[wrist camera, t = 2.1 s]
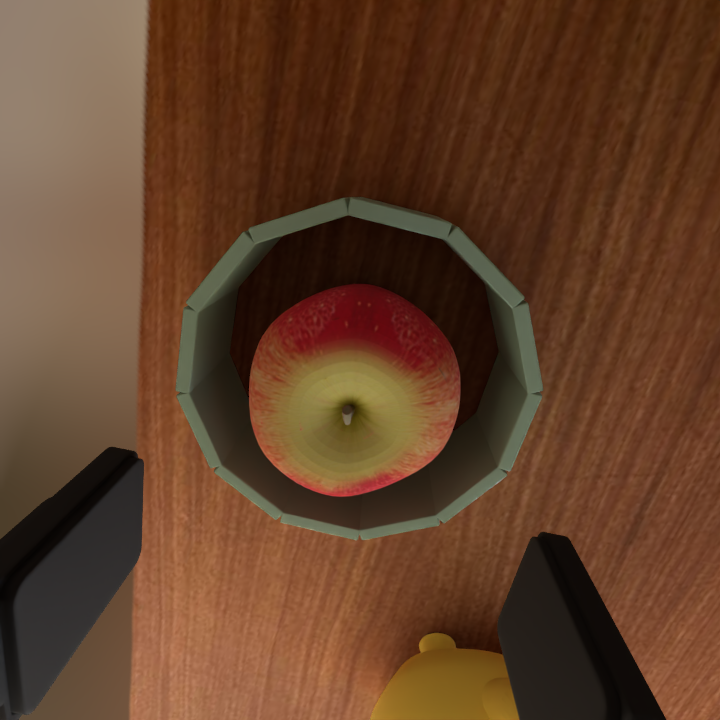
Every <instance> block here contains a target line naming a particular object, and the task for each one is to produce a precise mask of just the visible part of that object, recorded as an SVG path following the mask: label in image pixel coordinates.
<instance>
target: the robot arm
mask: <svg viewBox="0 0 720 720" xmlns="http://www.w3.org/2000/svg"><path fill="white" fill-rule="evenodd" d="M143 477H144V462H143V460H142V459H139V458H138V455H137V453H136V452H135V451H131V450H126V449H120V448H116V447H109V448H107V449H106V450H105V451H104V452H102V453H101V454H100V455H99V456H98V457H97V458H96V459H95V460H93V461H92V462H91V463H90V464H89V465H88V466H87V467H85V468H84V469H83V470H82V471H81V472H80V473H79V474H78V475H76V476H75V477H74V478H73V479H72V480H71V481H70V482H69V483H67V484H66V485H65V486H64V487H63V488H62V489H61V490H59V491H58V492H57V493H56V494H55V495H54V496H53V497H51V498H48V499H47V500H45V501H44V502H43V503H41V504H40V505H39V506H38V507H37V508H36V509H34V510H33V511H32V512H31V513H30V514H29V515H28V516H26V517H25V518H24V519H23V520H22V521H21V522H20V523H19V524H17V525H16V526H15V527H14V528H13V529H12V530H11V531H9V532H8V533H7V534H6V535H5V536H4V537H3V538H1V539H0V720H19V718H20V717H21V715H22V714H24V715H29V714H30V713H31V712H33V711H34V710H35V708H36V707H37V706H38V704H39V703H40V702H41V700H42V699H43V697H44V696H45V694H46V693H47V691H48V690H49V689H50V687H51V686H52V684H53V683H54V681H55V680H56V678H57V677H58V675H59V674H60V673H61V671H62V670H63V668H64V667H65V665H66V664H67V663H68V661H69V660H70V658H71V657H72V655H73V654H74V652H75V651H76V649H77V648H78V647H79V645H80V644H81V642H82V641H83V639H84V638H85V637H86V635H87V634H88V632H89V631H90V629H91V628H92V626H93V625H94V624H95V622H96V620H97V619H98V618H99V616H100V615H101V613H102V612H103V611H104V609H105V607H106V606H107V605H108V603H109V602H110V600H111V599H112V598H113V596H114V595H115V593H116V592H117V590H118V589H119V587H120V586H121V585H122V583H123V582H124V580H125V579H126V577H127V576H128V574H129V573H130V572H131V570H132V569H133V567H134V566H135V564H136V563H137V561H138V558H139V556H140V552H141V546H142V512H143ZM497 630H498V637H499V641H500V645H501V649H502V653H503V657H504V661H505V665H506V669H507V672H508V676H509V680H510V684H511V688H512V692H513V696H514V700H515V704H516V708H517V712H518V716H519V720H666V718H665V716H664V714H663V712H662V711H661V709H660V707H659V705H658V703H657V701H656V699H655V697H654V696H653V694H652V692H651V690H650V688H649V686H648V684H647V683H646V681H645V679H644V677H643V675H642V673H641V671H640V670H639V668H638V666H637V664H636V662H635V660H634V658H633V656H632V655H631V653H630V651H629V649H628V647H627V645H626V643H625V642H624V640H623V638H622V636H621V634H620V632H619V630H618V629H617V627H616V625H615V623H614V621H613V619H612V617H611V615H610V614H609V612H608V610H607V608H606V606H605V604H604V602H603V601H602V599H601V597H600V595H599V593H598V591H597V589H596V587H595V586H594V584H593V582H592V580H591V578H590V576H589V574H588V573H587V571H586V569H585V567H584V565H583V563H582V561H581V560H580V558H579V556H578V554H577V552H576V550H575V548H574V546H573V545H572V543H571V541H570V540H569V538H568V537H566V536H561V535H556V534H551V533H546V532H541V533H540V534H539V535H538V537H532V538H531V539H530V541H529V544H528V546H527V548H526V551H525V553H524V556H523V558H522V561H521V563H520V566H519V568H518V571H517V573H516V576H515V578H514V581H513V583H512V586H511V588H510V591H509V593H508V596H507V598H506V601H505V603H504V606H503V608H502V611H501V613H500V616H499V619H498V625H497Z"/></svg>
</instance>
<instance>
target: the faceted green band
mask: <svg viewBox="0 0 720 720" xmlns="http://www.w3.org/2000/svg"><path fill="white" fill-rule="evenodd" d="M348 215H349V216H353V217H357V218H361V219H365V220H369V221H373V222H377V223H381V224H385V225H389V226H392V227H396V228H400V229H404V230H408V231H412V232H416V233H420V234H424V235H428V236H432V237H436V238H440V239H442V240H443V241H444V242H445V243H446V244H447V245H448V246H449V247H450V248H451V249H452V250H453V251H454V252H455V253H456V254H457V255H458V256H459V257H460V258H461V259H462V260H463V261H464V262H465V263H466V264H467V266H468V267H469V268H470V269H471V270H472V271H473V272H474V273H475V274H476V275H477V276H478V277H479V278H480V279H481V280H482V281H483V282H484V283H485V288H486V293H487V297H488V302H489V307H490V312H491V317H492V322H493V327H494V332H495V336H496V341H497V346H498V351H499V352H498V355H497V357H496V360H495V363H494V366H493V368H492V371H491V374H490V376H489V379H488V382H487V384H486V387H485V390H484V392H483V395H482V398H481V400H480V403H479V406H478V409H477V411H476V413H475V414H474V415H473V416H471V417H470V418H469V419H468V420H467V421H465V422H464V423H463V424H462V425H461V426H459V427H458V428H457V429H456V430H455V431H453V432H452V433H451V436H450V438H449V440H448V442H447V443H446V445H445V447H444V448H443V449H442V451H441V452H440V453H439V454H438V455H437V456H436V457H435V458H434V459H433V460H432V461H431V462H430V463H428V464H427V465H426V466H424V467H423V468H421V469H420V470H418V471H417V472H415V473H413V474H411V475H409V476H408V477H405V478H403V479H401V480H399V481H397V482H395V483H393V484H390V485H388V486H385V487H383V488H380V489H377V490H374V491H371V492H367V493H363V494H359V495H354V496H344V497H338V496H330V495H324V494H321V493H318V492H315V491H312V490H310V489H308V488H305V487H303V486H302V485H300V484H298V483H296V482H295V481H293V480H292V479H290V478H288V477H287V476H286V475H285V474H283V473H282V472H281V471H280V470H279V469H277V468H276V467H275V466H274V465H273V464H272V463H271V462H270V460H269V459H268V458H267V457H266V456H265V454H264V453H263V451H262V450H261V448H260V446H259V444H258V442H257V439H256V437H255V434H254V431H253V427H252V423H251V417H250V408H249V398H248V396H247V394H246V391H245V389H244V386H243V384H242V382H241V379H240V377H239V374H238V372H237V370H236V367H235V365H234V362H233V360H232V357H231V355H230V346H231V339H232V332H233V325H234V318H235V311H236V304H237V297H238V290H239V287H240V285H241V284H242V283H243V282H244V281H245V280H246V278H247V277H248V276H249V275H250V274H251V273H252V271H253V270H254V269H255V268H256V267H257V265H258V264H259V263H260V262H261V261H262V260H263V258H264V257H265V256H266V255H267V254H268V253H269V251H270V250H271V249H272V248H273V247H274V245H275V244H276V243H277V242H278V241H279V240H280V238H281V237H282V236H284V235H287V234H290V233H293V232H297V231H300V230H303V229H306V228H309V227H313V226H316V225H319V224H322V223H325V222H329V221H332V220H335V219H338V218H341V217H345V216H348ZM524 298H525V297H524V296H523V294H522V293H521V292H520V291H519V290H518V289H517V288H516V287H515V286H514V285H513V284H512V283H511V282H510V281H509V280H508V279H507V278H506V277H505V276H504V274H503V273H502V272H501V271H500V270H499V269H498V268H497V267H496V266H495V265H494V264H493V263H492V262H491V261H490V260H489V259H488V258H487V257H486V255H485V254H484V253H483V252H482V251H481V250H480V249H479V248H478V247H477V246H476V245H475V244H474V243H473V242H472V241H471V240H470V239H469V238H468V237H467V235H466V234H465V233H464V232H463V231H462V230H461V229H460V228H459V227H457V226H455V225H453V224H452V223H450V222H448V221H446V220H444V219H442V218H440V217H438V216H435V215H431V214H427V213H423V212H419V211H415V210H411V209H407V208H403V207H400V206H396V205H392V204H388V203H384V202H380V201H376V200H372V199H368V198H364V197H347V198H341V199H338V200H334V201H331V202H328V203H325V204H322V205H319V206H316V207H312V208H309V209H306V210H303V211H300V212H297V213H294V214H290V215H287V216H284V217H281V218H278V219H275V220H272V221H269V222H265V223H262V224H259V225H256V226H253V227H250V228H249V230H248V231H245V232H242V234H241V235H240V236H239V237H238V238H237V240H236V241H235V242H234V243H233V245H232V246H231V247H230V248H229V250H228V251H227V252H226V253H225V254H224V256H223V257H222V258H221V259H220V261H219V262H218V263H217V264H216V266H215V267H214V268H213V269H212V270H211V272H210V273H209V274H208V275H207V277H206V278H205V279H204V280H203V281H202V283H201V284H200V285H199V286H198V288H197V289H196V290H195V291H194V293H193V294H192V295H191V296H190V297H189V299H188V300H187V301H186V303H187V304H188V306H186V307H184V310H183V320H182V330H181V340H180V350H179V360H178V371H177V381H176V391H179V392H180V393H179V394H178V395H177V399H178V401H179V403H180V405H181V407H182V409H183V411H184V413H185V415H186V418H187V420H188V422H189V424H190V426H191V428H192V430H193V432H194V435H195V437H196V439H197V441H198V443H199V445H200V447H201V449H202V452H203V454H204V456H205V458H206V460H207V462H208V464H209V466H210V468H213V467H216V469H215V470H214V472H215V473H216V474H217V475H218V476H220V477H221V478H222V479H223V480H225V481H226V482H227V483H229V484H230V485H231V486H233V487H234V488H235V489H236V490H238V491H239V492H240V493H242V494H243V495H244V496H245V497H247V498H248V499H249V500H251V501H252V502H253V503H255V504H256V505H257V506H258V507H260V508H261V509H262V510H264V511H265V512H266V513H267V514H269V515H270V516H271V517H273V518H274V519H275V520H276V519H278V518H279V517H280V516H281V515H282V516H281V521H280V522H281V523H285V524H289V525H294V526H298V527H302V528H306V529H311V530H315V531H319V532H324V533H328V534H332V535H336V536H341V537H345V538H349V539H354V540H358V537H359V534H360V536H361V539H362V540H366V539H372V538H377V537H382V536H387V535H392V534H397V533H402V532H407V531H413V530H418V529H423V528H428V527H433V526H438V525H439V520H441V521H442V522H443V523H445V522H447V521H448V520H449V519H451V518H452V517H453V516H454V515H456V514H457V513H458V512H460V511H461V510H462V509H464V508H465V507H466V506H468V505H469V504H470V503H472V502H473V501H474V500H476V499H477V498H478V497H480V496H481V495H482V494H484V493H485V492H486V491H487V490H489V489H490V488H491V487H493V486H494V485H495V484H497V483H498V482H499V481H501V480H502V479H503V478H505V477H506V476H507V473H506V471H505V470H507V471H511V469H512V466H513V464H514V462H515V459H516V457H517V454H518V452H519V450H520V447H521V445H522V443H523V440H524V438H525V436H526V433H527V431H528V429H529V426H530V424H531V422H532V419H533V417H534V414H535V412H536V410H537V407H538V405H539V403H540V400H541V398H542V395H541V393H540V392H539V391H543V385H542V379H541V374H540V368H539V362H538V357H537V351H536V345H535V340H534V334H533V328H532V323H531V317H530V311H529V306H528V303H527V302H526V301H524V300H523V299H524Z"/></svg>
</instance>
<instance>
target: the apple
mask: <svg viewBox="0 0 720 720" xmlns="http://www.w3.org/2000/svg"><path fill="white" fill-rule="evenodd" d="M459 404H460V372H459V366H458V362H457V359H456V356H455V353H454V351H453V348H452V346H451V344H450V343H449V341H448V340H447V338H446V337H445V335H444V334H443V333H442V332H441V330H440V329H439V328H438V326H437V325H436V324H435V323H434V322H433V321H432V320H431V319H430V318H429V317H428V316H427V315H426V314H425V313H423V312H422V311H421V310H420V309H419V308H417V307H416V306H415V305H413V304H412V303H410V302H409V301H407V300H406V299H404V298H403V297H401V296H399V295H397V294H396V293H394V292H391V291H389V290H387V289H384V288H381V287H379V286H375V285H370V284H348V285H342V286H337V287H334V288H330V289H327V290H324V291H322V292H319V293H316V294H314V295H312V296H310V297H308V298H306V299H304V300H302V301H300V302H299V303H297V304H295V305H294V306H292V307H291V308H289V309H288V310H286V311H285V312H284V313H282V314H281V315H280V316H279V317H278V318H277V319H276V320H275V321H274V322H273V323H272V324H271V325H270V326H269V328H268V329H267V330H266V332H265V333H264V334H263V336H262V338H261V340H260V342H259V344H258V347H257V349H256V352H255V355H254V358H253V362H252V367H251V373H250V382H249V408H250V417H251V423H252V427H253V431H254V434H255V437H256V439H257V442H258V444H259V446H260V448H261V450H262V451H263V453H264V454H265V456H266V457H267V458H268V459H269V460H270V462H271V463H272V464H273V465H274V466H275V467H276V468H277V469H279V470H280V471H281V472H282V473H283V474H285V475H286V476H287V477H288V478H290V479H292V480H293V481H295V482H296V483H298V484H300V485H302V486H303V487H305V488H308V489H310V490H312V491H315V492H318V493H321V494H324V495H330V496H338V497H344V496H354V495H359V494H363V493H367V492H371V491H374V490H377V489H380V488H383V487H385V486H388V485H390V484H393V483H395V482H397V481H399V480H401V479H403V478H405V477H408V476H409V475H411V474H413V473H415V472H417V471H418V470H420V469H421V468H423V467H424V466H426V465H427V464H428V463H430V462H431V461H432V460H433V459H434V458H435V457H436V456H437V455H438V454H439V453H440V452H441V451H442V449H443V448H444V447H445V445H446V443H447V442H448V440H449V438H450V436H451V433H452V431H453V428H454V425H455V422H456V418H457V415H458V410H459Z"/></svg>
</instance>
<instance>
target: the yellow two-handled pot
mask: <svg viewBox="0 0 720 720" xmlns="http://www.w3.org/2000/svg"><path fill="white" fill-rule="evenodd" d="M419 649H420V652H421V653H419V654H417V655H415V656H413V657H411V658H409V659H408V660H407V661H406V662H405V663H403V665H402V666H401V667H400V668H399V669H398V671H397V672H396V673H395V674H394V676H393V677H392V678H391V680H390V681H389V683H388V684H387V686H386V688H385V689H384V691H383V692H382V694H381V696H380V697H379V699H378V701H377V703H376V705H375V707H374V709H373V712H372V715H371V718H370V720H519V716H518V712H517V708H516V704H515V700H514V696H513V692H512V688H511V684H510V680H509V676H508V672H507V669H506V665H505V661H504V657H503V655H502V654H499V653H494V652H489V651H483V650H474V649H456V645H455V642H454V640H453V639H452V638H451V637H450V636H448V635H446V634H442V633H432V634H428V635H426V636H425V637H423V638H422V639H421V641H420V643H419Z"/></svg>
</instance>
